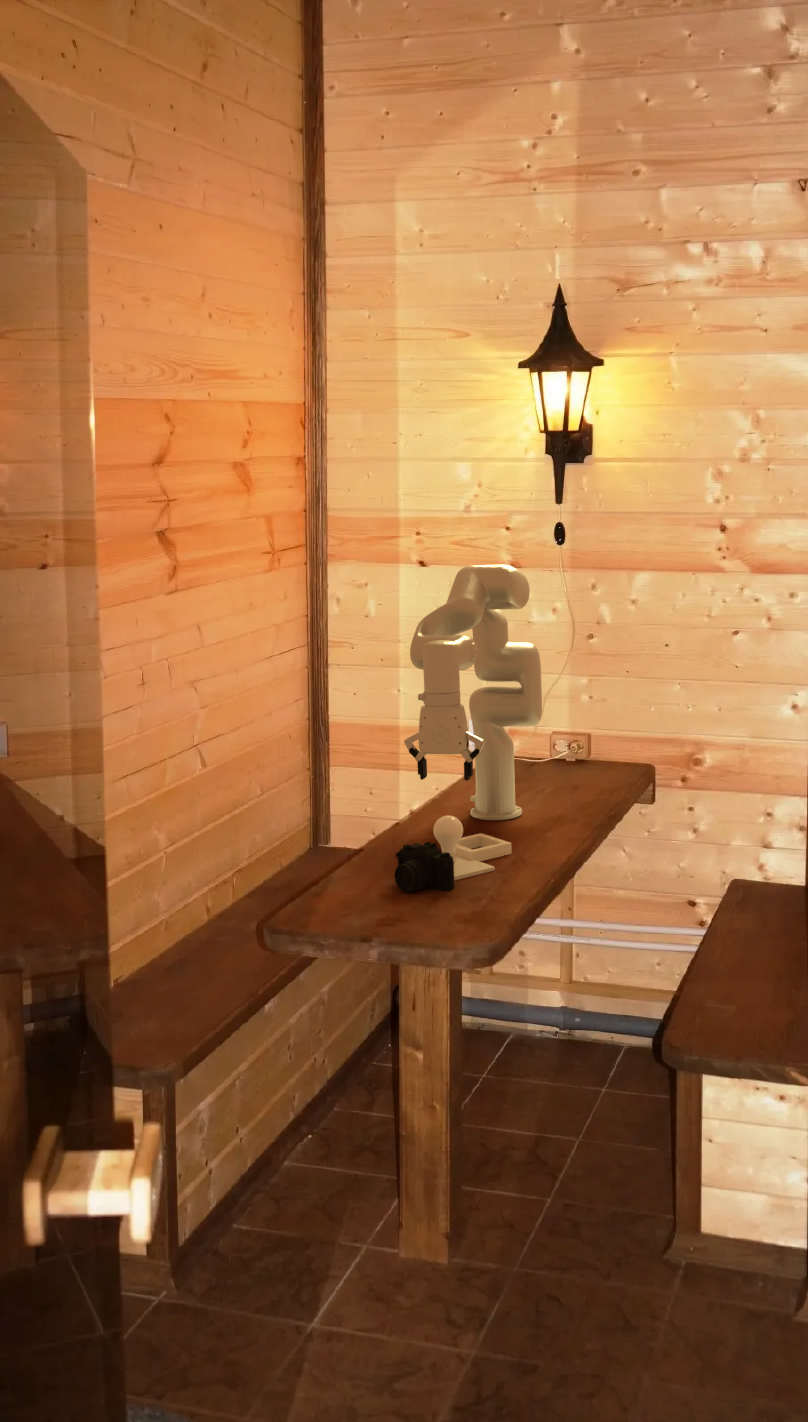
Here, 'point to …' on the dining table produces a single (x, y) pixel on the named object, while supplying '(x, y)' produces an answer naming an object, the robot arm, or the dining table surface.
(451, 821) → the lightbulb
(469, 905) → the dining table surface
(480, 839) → the socket collar
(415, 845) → the film camera
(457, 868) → the felt mat
